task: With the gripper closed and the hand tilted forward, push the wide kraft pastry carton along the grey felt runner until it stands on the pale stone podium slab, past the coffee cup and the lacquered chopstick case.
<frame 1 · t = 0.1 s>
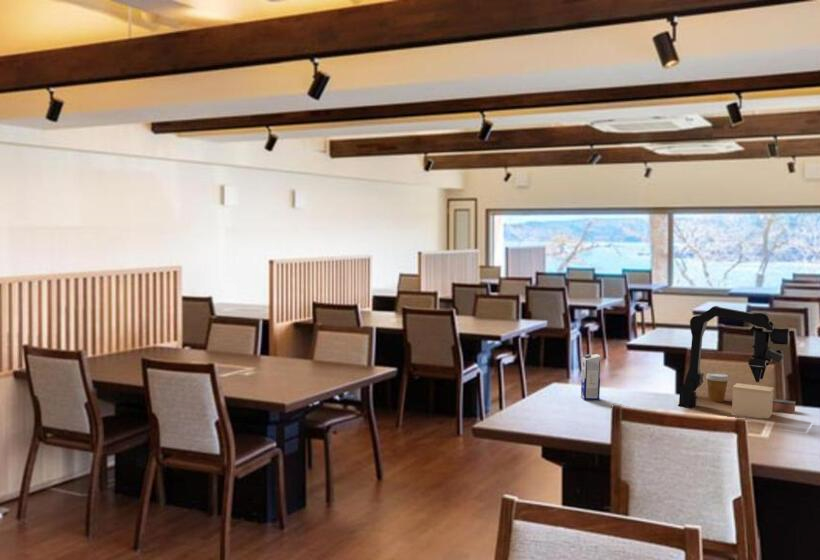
hand: (759, 380, 320), 15 cm above the table, tool pointing down, fingers open, 9 cm apart
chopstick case: (768, 409, 333), on the table
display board: (764, 416, 320), on the table
disposable coffee cup: (716, 401, 348), on the table
milk carton: (589, 399, 347), on the table
kraft carton: (751, 413, 322), resting on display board
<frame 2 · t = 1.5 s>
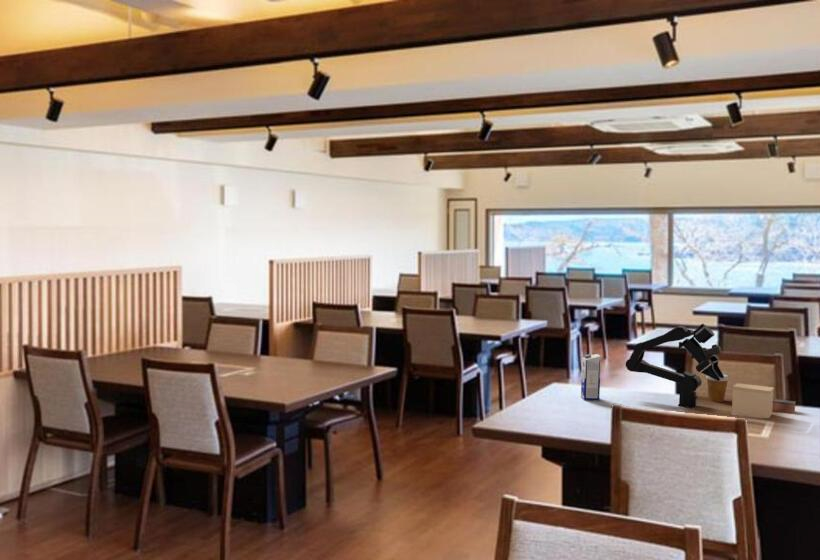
hand: (721, 379, 328), 14 cm above the table, tool tilted 45°, fingers open, 7 cm apart
nothing on the table moved.
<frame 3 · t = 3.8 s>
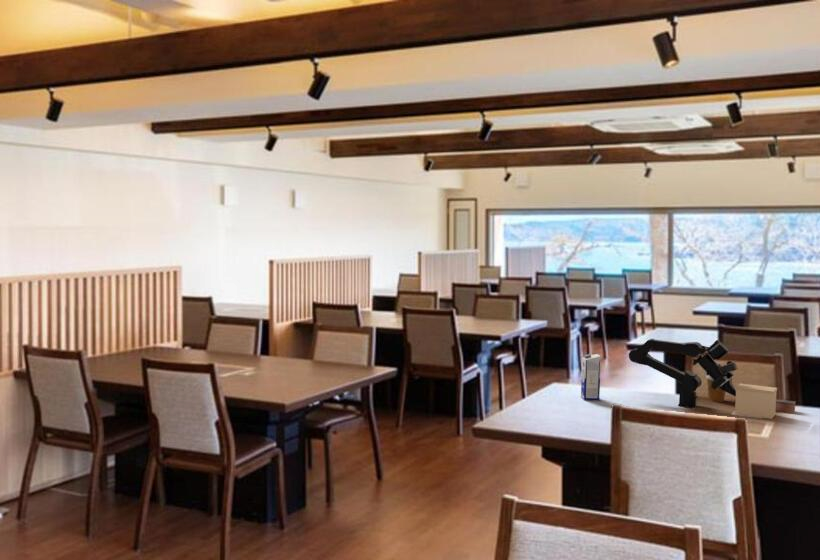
hand: (737, 395, 325), 7 cm above the table, tool tilted 45°, fingers closed, pressing on kraft carton
kraft carton: (755, 414, 322), point 1 cm above the table, touching gripper
everything else where it was.
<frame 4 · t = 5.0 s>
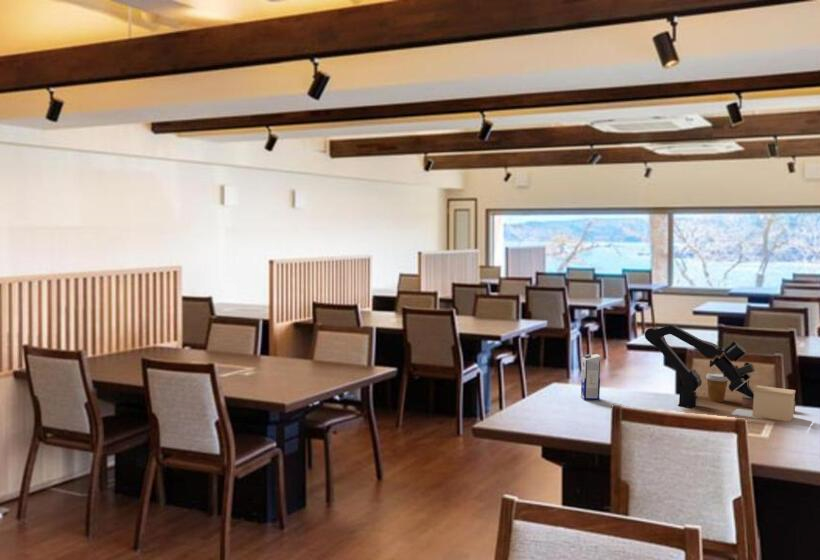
hand: (754, 397, 322), 7 cm above the table, tool tilted 45°, fingers closed, pressing on kraft carton
kraft carton: (772, 416, 318), resting on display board, touching gripper
everything else where it was.
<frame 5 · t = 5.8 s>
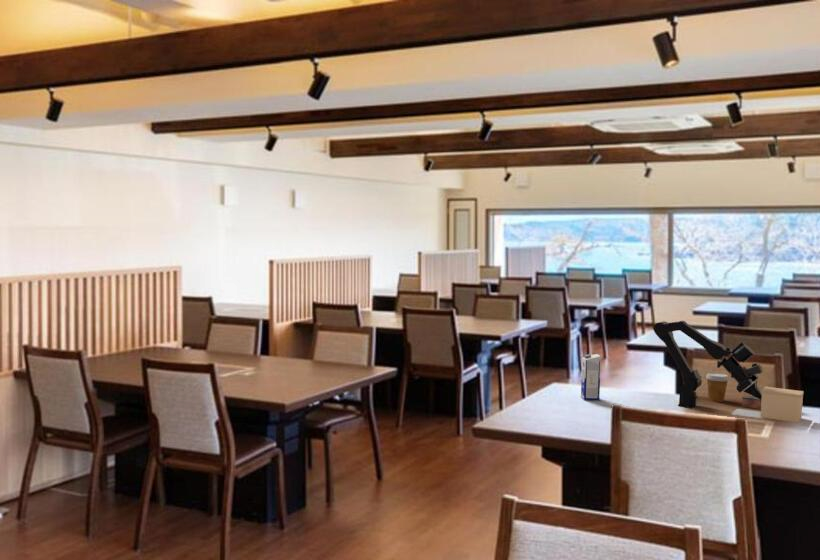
hand: (762, 399, 320), 7 cm above the table, tool tilted 45°, fingers closed, pressing on kraft carton
kraft carton: (780, 417, 316), resting on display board, touching gripper
everything else where it was.
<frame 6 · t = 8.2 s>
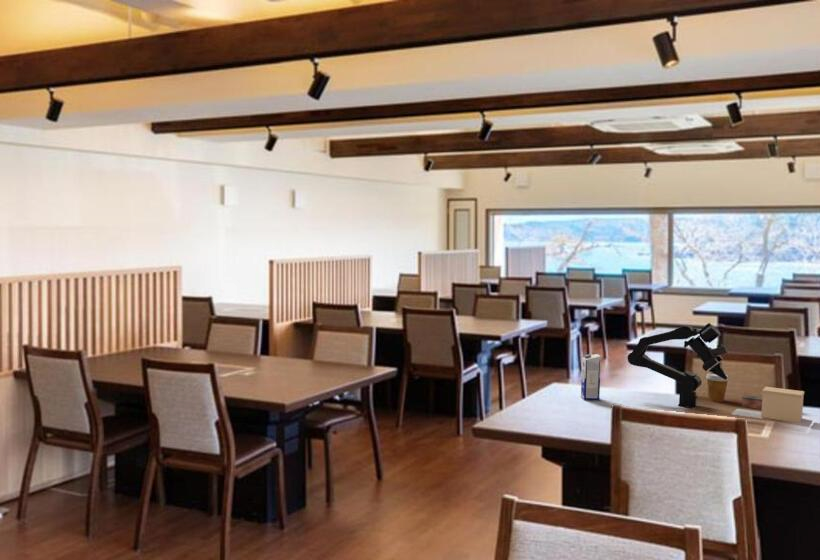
hand: (726, 378, 328), 14 cm above the table, tool tilted 45°, fingers closed
kraft carton: (781, 417, 316), resting on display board
everything else where it was.
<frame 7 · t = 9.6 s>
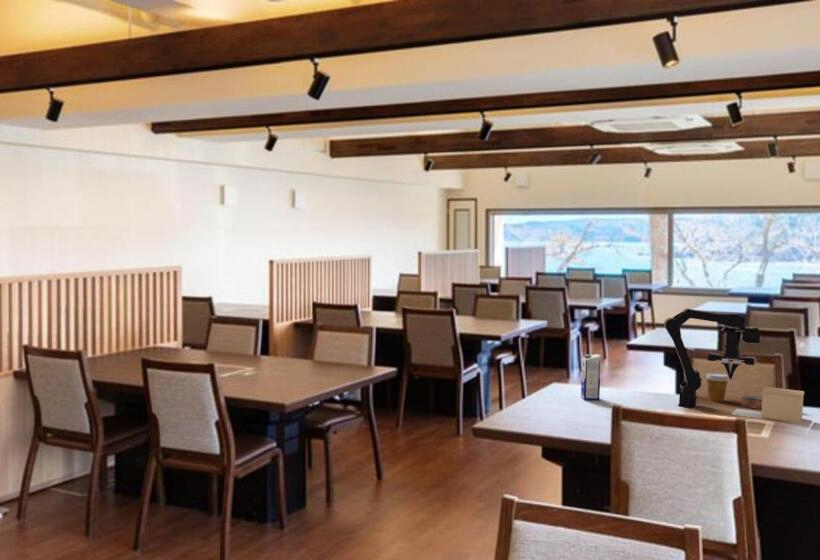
hand: (730, 378, 332), 13 cm above the table, tool pointing down, fingers closed
nothing on the table moved.
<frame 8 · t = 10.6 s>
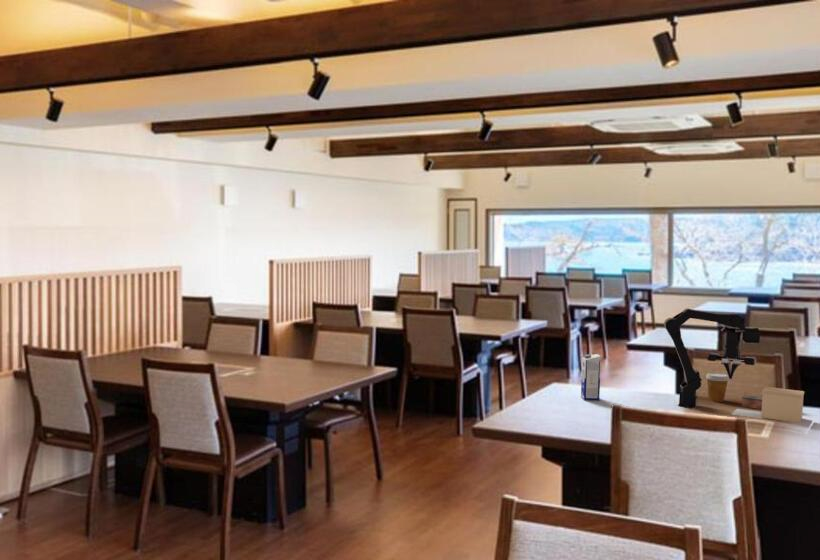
hand: (730, 378, 332), 13 cm above the table, tool pointing down, fingers closed
nothing on the table moved.
at the end: kraft carton inside the target area (0.3 cm from its centre), resting on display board; kraft carton tilted 0°; kraft carton touching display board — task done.
